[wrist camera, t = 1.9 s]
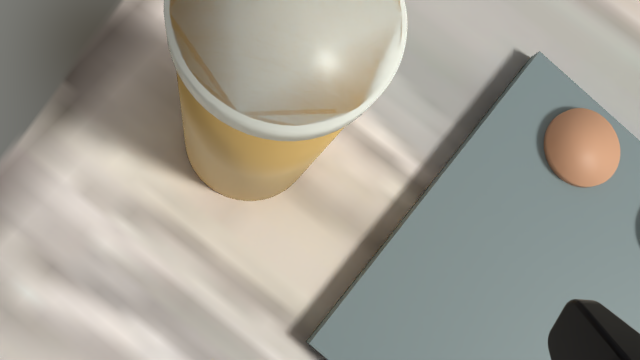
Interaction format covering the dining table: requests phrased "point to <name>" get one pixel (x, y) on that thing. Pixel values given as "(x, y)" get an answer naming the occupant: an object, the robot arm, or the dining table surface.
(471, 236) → the card
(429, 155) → the dining table surface
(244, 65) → the amber cup
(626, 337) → the robot arm
